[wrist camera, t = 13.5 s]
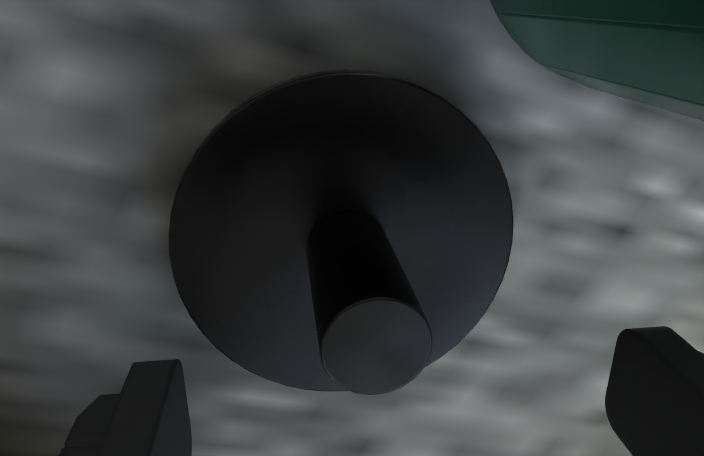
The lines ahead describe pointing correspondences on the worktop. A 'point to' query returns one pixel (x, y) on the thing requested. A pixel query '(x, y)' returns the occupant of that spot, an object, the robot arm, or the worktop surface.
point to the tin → (617, 46)
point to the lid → (341, 231)
